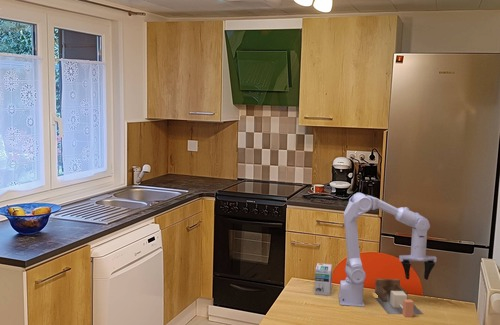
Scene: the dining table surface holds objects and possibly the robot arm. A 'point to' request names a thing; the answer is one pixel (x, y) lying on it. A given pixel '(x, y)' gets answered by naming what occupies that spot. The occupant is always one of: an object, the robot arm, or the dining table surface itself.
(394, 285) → the panel
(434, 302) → the dining table surface
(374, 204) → the robot arm
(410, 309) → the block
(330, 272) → the light bulb box
